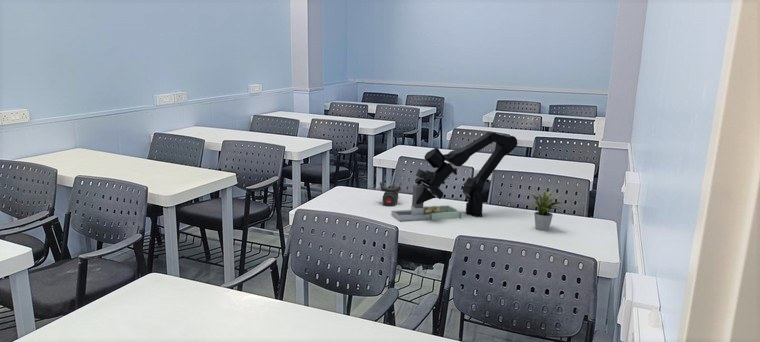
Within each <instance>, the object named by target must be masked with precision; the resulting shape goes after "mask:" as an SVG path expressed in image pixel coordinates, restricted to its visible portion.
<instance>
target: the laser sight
mask: <svg viewBox="0 0 760 342" xmlns="http://www.w3.org/2000/svg"><path fill="white" fill-rule="evenodd" d="M379 186H380V189H381V192H384V193H383V195H382V204H383V206H385V207H393V206H395V205H396V204H397V202H398V200H399V199H398V198H399V192H400V191H401V190H402V182H400V183H399V186H397V185H395V184H392V185H388V187H387V186H384V185H383V182H382V181H379Z"/></svg>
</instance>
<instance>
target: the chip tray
mask: <svg viewBox="0 0 760 342" xmlns="http://www.w3.org/2000/svg"><path fill="white" fill-rule="evenodd" d="M435 206H436V205H427V206H424V205H423V208H425V207H430V208H431V209H433V207H435ZM437 206H438V207H440V208H441V212H443V213H432V215H431V219H432V220H431V221H438V220H439V219H441V220H452V219H453V220H454V219H455V218H457V219H461V218H462V212H461V211H460V210H458V209H457V208H454V207H453V206H451V205H449V204H446V205H445V204H443V205H437Z"/></svg>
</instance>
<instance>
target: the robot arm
mask: <svg viewBox="0 0 760 342" xmlns="http://www.w3.org/2000/svg"><path fill="white" fill-rule="evenodd" d="M516 137H517V136H516ZM516 137H515V136H514V135H509V134H506V133H505V134H499V133H496V132H493V131H487V132H486V133H485V134H483V135H482V136H480V137H478V138H476V139H475V140H473V141H472V142H470V143H469V144H467V145H466V146H462V147H460V148H456V149H454V150H452V151H449V152H448V153H446V154H443V153H442V152H441V151H440V149H439V148H438V147H434V148H433V149H430V151H427V152H426V153H425V155H424V156H423V157H424V160H425V161H426V162H427V163H428V164H429V165H430V166H431V167H432V168H433V169H435V170H434V171H430V170H428V169H426V170H423V169H420V168H418V170H417V172H416V174H415V176H416V177H417V178H416V179H414V183H416V185H422V186H424V192H423V194H422V195H421V196H420V198H419V199H418V200H417V202H416V204H420V203H423V202H424V203H425V202H428V201H430V200H433V199H436V198H437V199H439V200H442V198H443V197H444V192H443V191H442V190H441V189H440V187H441V185H446V180H447V179H448V178H449V177H450V175H456V176H457V175H458V168H456V167H461V166H463V165H464V164H465V163H466V162H468V160H469V159H470V157H472V156H473V155H475V154H476V153H477V152H480V151H481V150H482V149H484V148H486V147H488V146H489V145H491V144H492V143H495V147H494V151H493V152H492V153H491V155H490V156H489V158H488V159H487V160H486V162H485V163H484V164H483V166H482V167H480V169H479V171H478V173H477V174H476V175H475V176H474V177H470V176H469V177H468V178H467V179H466V181H465V182H464V183H463V184H462V185H463V187H462V193H463V195H464V196H465V199H466V200H467V202H466V203H465V214H466V215H467V216H472V217H483V204H484V203H485V202H486V201H487V197H486V196H485V195H484V194H483V191H484V190H485V189H484V188H485V183H486V182H487V180H488V179H489V178H490V177H491V175H492V173H494V171H495V169H496V168H497V167H498V165H499V164H500V163H501V162H502V160H503V159H504V157H506V156H507V155H509V154H511V153H512V151H514V150H515V148H517V146H518V144H519V143H518V139H517V138H516ZM452 165H453V166H455V167H453V166H452ZM424 203H423V204H424Z"/></svg>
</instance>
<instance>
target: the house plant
mask: <svg viewBox="0 0 760 342" xmlns="http://www.w3.org/2000/svg"><path fill="white" fill-rule="evenodd" d="M546 189H547V188H545V189H544V190H543V196H542V194H541V193H540V192H539V191H538V192H537V194H538V197H539V198H538V197H537V196H536V195H535V193H534V192H532V193H527V194H530V195H531V196H532V197H533V198H534V200H532V202H533V203H534V204H536V205H537V206H536V205H534V204H530V206H529V207H530V209H532V208H533V209H534V208H535V209H536V210H537V211H534V213H533V214H534V225H535V226H534V227H535V229H536V230H538V231H550V226H551V223H552V219H553V215H554V214H553V213H552V212H551V210H558V211H560V209H562V208H561V207H560V206H558V205H559V204H563V202H562V201H561V202H559V201H556V200H558V198H559V197H560V196H561V194H559V195H556V196H555V197H553V198H551V199H550V197H551V196H552V194H554V193H555V191H552V190H550V191H548V193H547V194H546ZM553 201H555V202H553Z"/></svg>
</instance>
